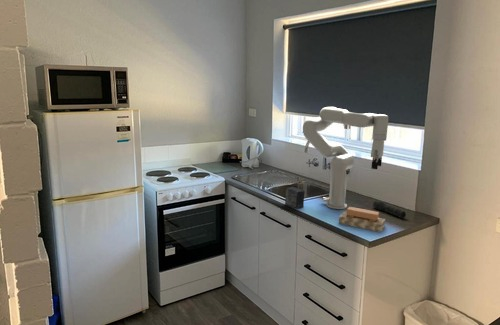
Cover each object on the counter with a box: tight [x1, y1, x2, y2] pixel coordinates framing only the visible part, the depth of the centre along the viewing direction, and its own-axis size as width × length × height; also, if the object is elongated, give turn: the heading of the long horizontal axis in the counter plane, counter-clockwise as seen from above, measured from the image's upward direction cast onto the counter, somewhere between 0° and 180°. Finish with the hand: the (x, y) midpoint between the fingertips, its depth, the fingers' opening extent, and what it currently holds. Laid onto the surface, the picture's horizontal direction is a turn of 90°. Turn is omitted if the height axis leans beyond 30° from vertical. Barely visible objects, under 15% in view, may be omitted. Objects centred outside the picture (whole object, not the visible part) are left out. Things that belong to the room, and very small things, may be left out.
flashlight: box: [372, 200, 407, 219], centre depth 226 cm, size 5×21×5 cm, turn 29°
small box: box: [284, 186, 305, 209], centre depth 233 cm, size 11×6×10 cm, turn 35°
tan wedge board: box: [346, 206, 380, 222], centre depth 205 cm, size 16×5×8 cm, turn 60°
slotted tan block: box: [338, 210, 386, 233], centre depth 205 cm, size 22×10×4 cm, turn 60°
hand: (376, 167), depth 216 cm, fingers open, 9 cm apart
